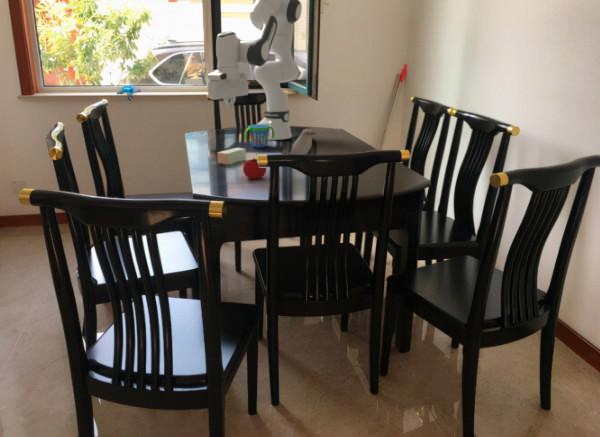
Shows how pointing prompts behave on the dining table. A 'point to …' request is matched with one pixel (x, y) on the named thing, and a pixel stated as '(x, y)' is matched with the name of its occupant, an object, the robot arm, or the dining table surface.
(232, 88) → the robot arm
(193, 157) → the dining table surface
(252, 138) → the snack cup
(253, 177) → the tomato
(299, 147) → the bird
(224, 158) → the tall block
